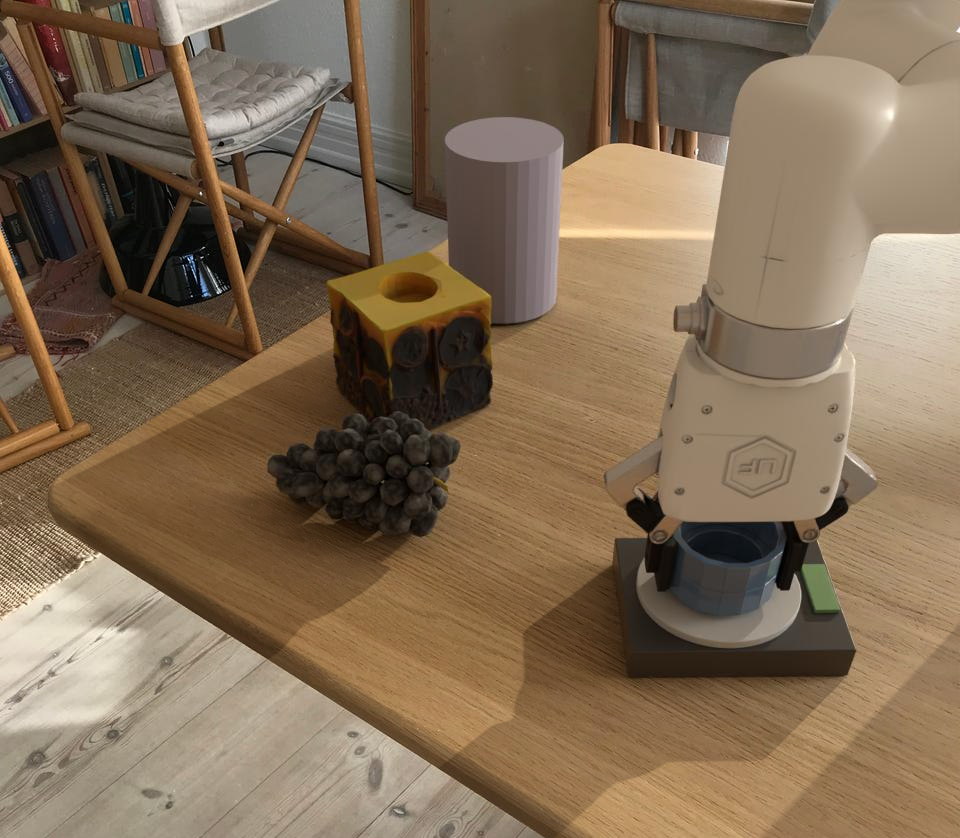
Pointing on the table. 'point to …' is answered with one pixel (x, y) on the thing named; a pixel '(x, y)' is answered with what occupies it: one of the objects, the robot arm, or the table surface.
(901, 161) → the robot arm
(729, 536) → the bowl
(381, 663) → the table surface
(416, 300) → the candle
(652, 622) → the scale
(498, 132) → the container
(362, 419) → the fruit
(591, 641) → the table surface
